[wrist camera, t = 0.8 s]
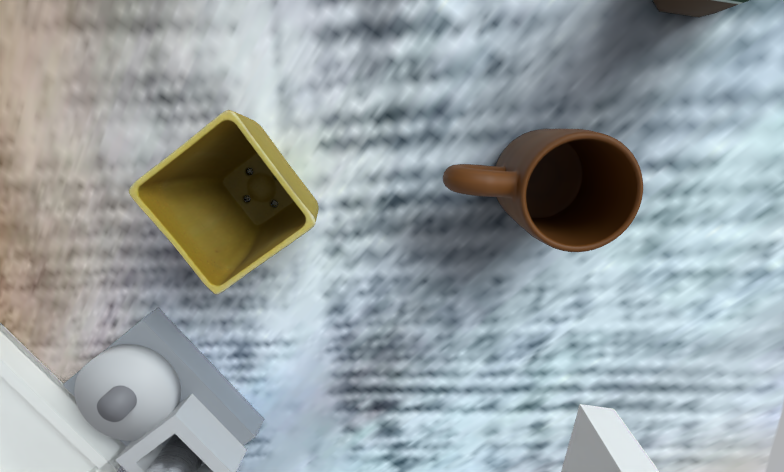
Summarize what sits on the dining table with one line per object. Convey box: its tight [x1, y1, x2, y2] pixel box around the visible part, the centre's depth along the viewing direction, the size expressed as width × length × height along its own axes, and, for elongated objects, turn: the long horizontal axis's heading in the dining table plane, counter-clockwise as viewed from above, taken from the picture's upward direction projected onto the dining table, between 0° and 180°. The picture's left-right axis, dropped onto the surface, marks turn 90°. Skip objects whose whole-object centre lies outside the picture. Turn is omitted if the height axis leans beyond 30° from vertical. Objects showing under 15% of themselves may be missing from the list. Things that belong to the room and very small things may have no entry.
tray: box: [0, 323, 126, 472], centre depth 42 cm, size 18×13×2 cm
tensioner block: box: [63, 308, 264, 472], centre depth 40 cm, size 14×10×6 cm
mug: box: [443, 129, 643, 252], centre depth 32 cm, size 12×8×9 cm, turn 85°
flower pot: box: [129, 110, 318, 294], centre depth 33 cm, size 9×9×9 cm
